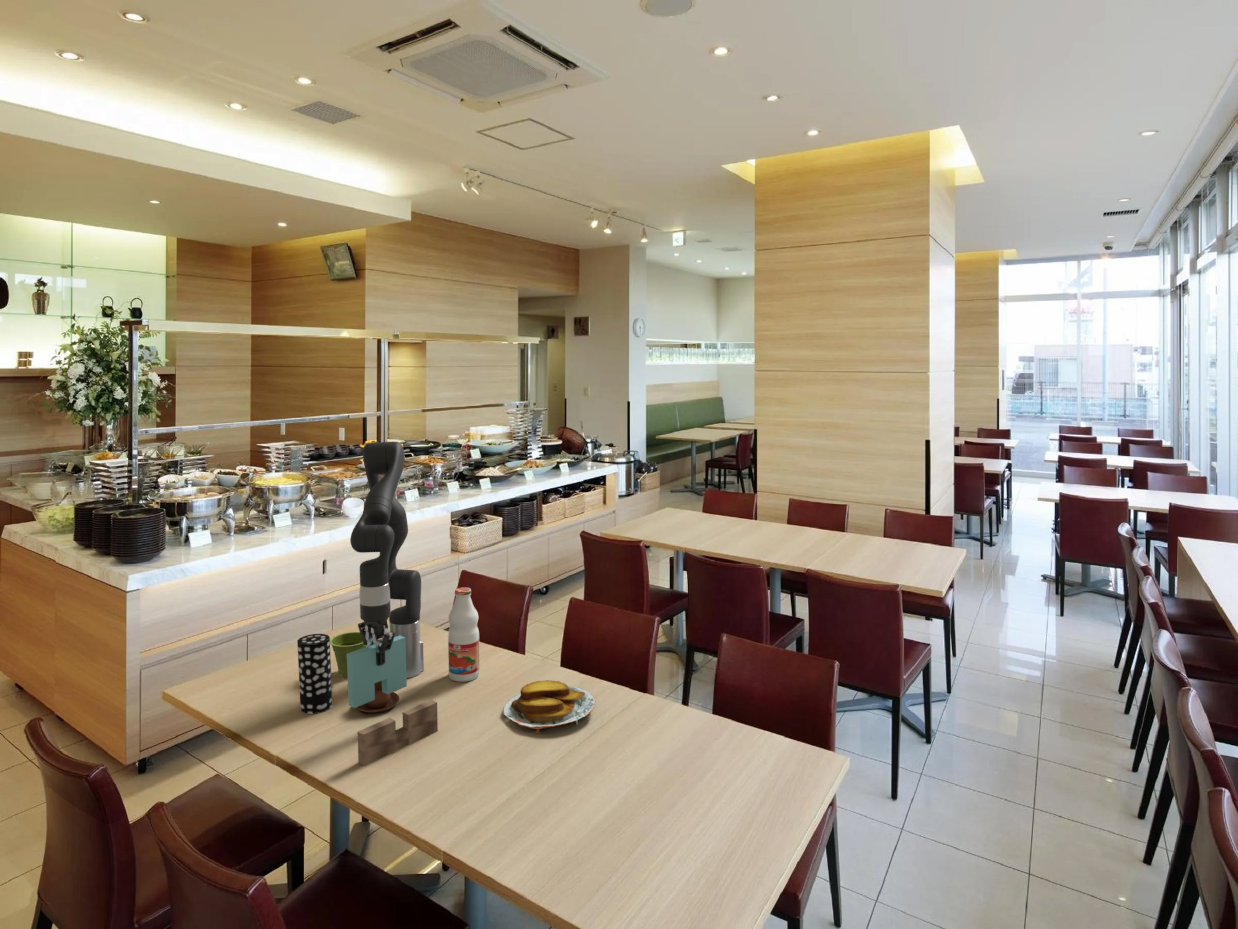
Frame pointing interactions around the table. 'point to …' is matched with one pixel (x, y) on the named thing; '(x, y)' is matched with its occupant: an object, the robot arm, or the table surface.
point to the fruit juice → (463, 638)
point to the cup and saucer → (380, 700)
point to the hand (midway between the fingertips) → (377, 663)
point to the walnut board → (396, 732)
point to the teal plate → (375, 672)
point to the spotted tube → (314, 673)
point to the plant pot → (345, 648)
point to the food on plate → (549, 704)
